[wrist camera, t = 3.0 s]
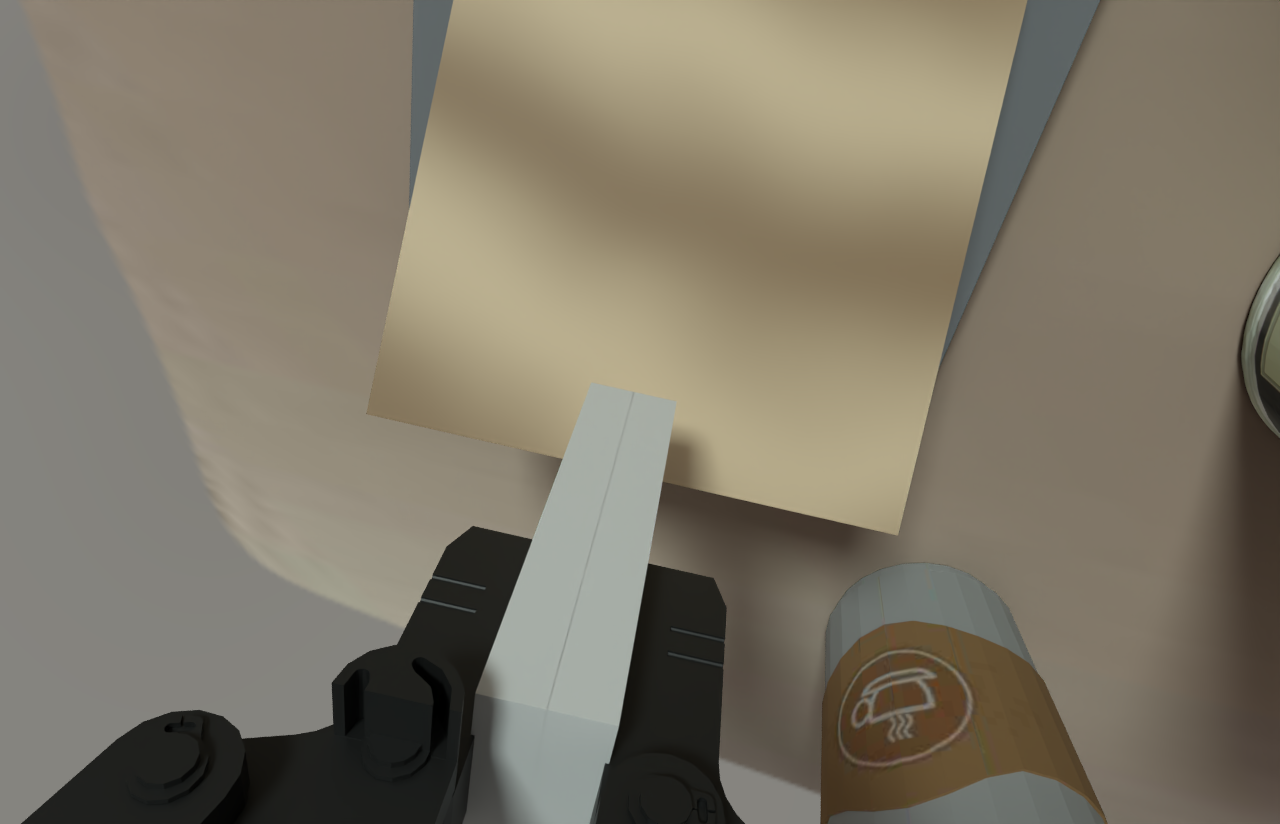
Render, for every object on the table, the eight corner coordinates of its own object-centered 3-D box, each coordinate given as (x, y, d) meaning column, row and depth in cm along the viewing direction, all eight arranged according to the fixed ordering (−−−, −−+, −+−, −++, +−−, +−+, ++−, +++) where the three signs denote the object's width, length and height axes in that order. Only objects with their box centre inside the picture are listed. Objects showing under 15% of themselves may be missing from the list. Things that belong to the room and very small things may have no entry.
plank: (503, -142, 17) (491, -181, 16) (1015, -33, 17) (1043, -65, 16) (386, 412, 18) (366, 413, 16) (881, 524, 17) (897, 535, 16)
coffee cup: (985, 498, 26) (1192, 1058, 13) (1075, 663, 29) (1312, 1244, 16) (756, 583, 29) (745, 1099, 16) (859, 723, 32) (916, 1247, 20)
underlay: (453, -523, 15) (398, -599, 13) (1230, -366, 15) (1311, -416, 13) (424, 314, 25) (390, 353, 23) (897, 420, 25) (909, 471, 22)
